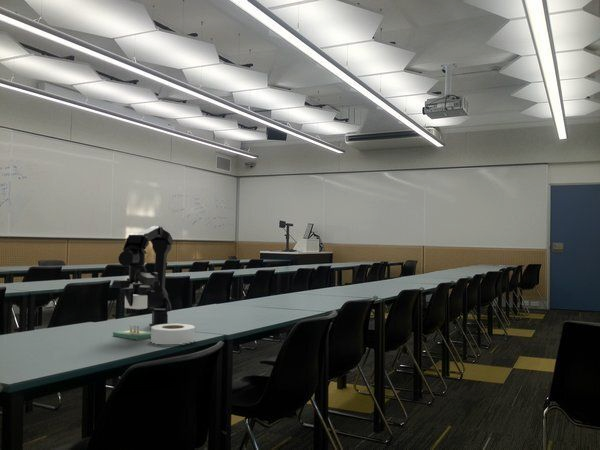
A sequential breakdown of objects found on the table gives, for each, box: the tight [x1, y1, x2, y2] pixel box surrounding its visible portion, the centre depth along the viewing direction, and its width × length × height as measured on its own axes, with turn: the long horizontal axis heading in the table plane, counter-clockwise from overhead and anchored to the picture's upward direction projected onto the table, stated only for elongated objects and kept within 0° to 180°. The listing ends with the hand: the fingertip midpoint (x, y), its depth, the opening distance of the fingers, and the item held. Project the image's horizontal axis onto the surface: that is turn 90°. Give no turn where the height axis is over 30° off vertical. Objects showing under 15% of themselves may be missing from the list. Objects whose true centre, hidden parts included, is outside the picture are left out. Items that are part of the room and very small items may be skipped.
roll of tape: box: [150, 323, 196, 345], centre depth 196 cm, size 16×16×6 cm
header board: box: [112, 324, 151, 341], centre depth 204 cm, size 14×9×4 cm, turn 56°
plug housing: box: [124, 293, 149, 310], centre depth 207 cm, size 8×4×5 cm, turn 56°
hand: (135, 305), depth 207 cm, fingers closed on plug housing, 4 cm apart
